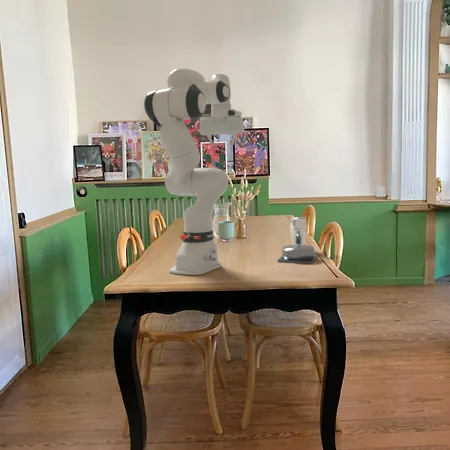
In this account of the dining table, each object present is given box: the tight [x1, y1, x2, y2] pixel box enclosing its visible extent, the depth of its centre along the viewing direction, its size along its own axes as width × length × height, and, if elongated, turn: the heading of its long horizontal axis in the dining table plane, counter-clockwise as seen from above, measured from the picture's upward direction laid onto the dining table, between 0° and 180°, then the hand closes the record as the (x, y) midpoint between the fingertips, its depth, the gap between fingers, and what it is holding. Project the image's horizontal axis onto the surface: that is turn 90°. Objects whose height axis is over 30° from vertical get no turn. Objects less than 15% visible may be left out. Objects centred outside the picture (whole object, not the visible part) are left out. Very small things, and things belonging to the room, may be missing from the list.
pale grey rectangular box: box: [289, 216, 307, 245], centre depth 216 cm, size 7×7×15 cm
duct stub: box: [277, 244, 319, 265], centre depth 201 cm, size 14×14×5 cm
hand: (222, 144), depth 217 cm, fingers open, 8 cm apart
